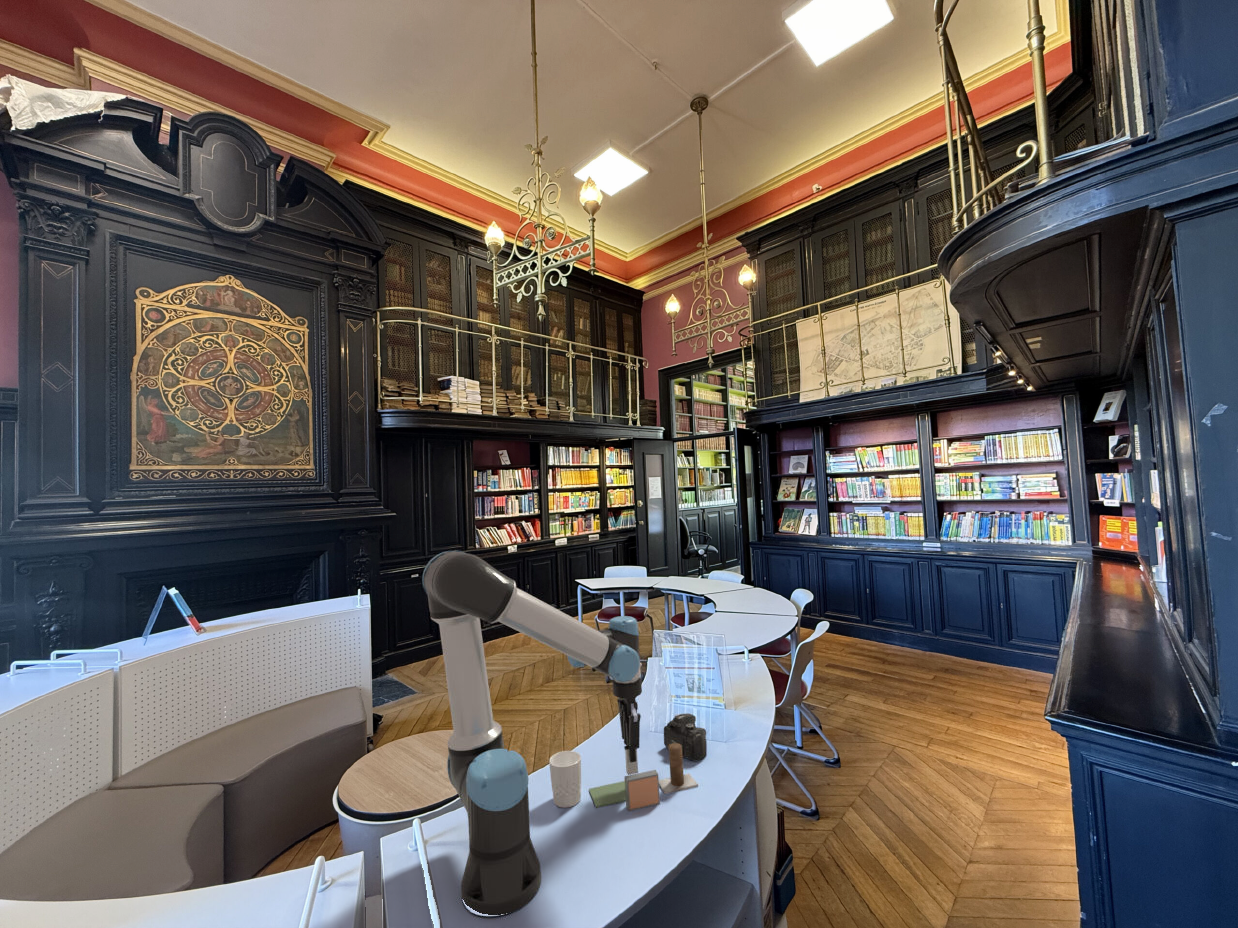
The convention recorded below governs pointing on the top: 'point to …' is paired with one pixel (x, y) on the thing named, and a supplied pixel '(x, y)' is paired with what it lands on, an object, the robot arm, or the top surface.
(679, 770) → the wooden handled stamp
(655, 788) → the tile
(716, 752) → the top surface
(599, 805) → the pad
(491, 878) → the robot arm
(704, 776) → the top surface
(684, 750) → the camera
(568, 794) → the white cup
